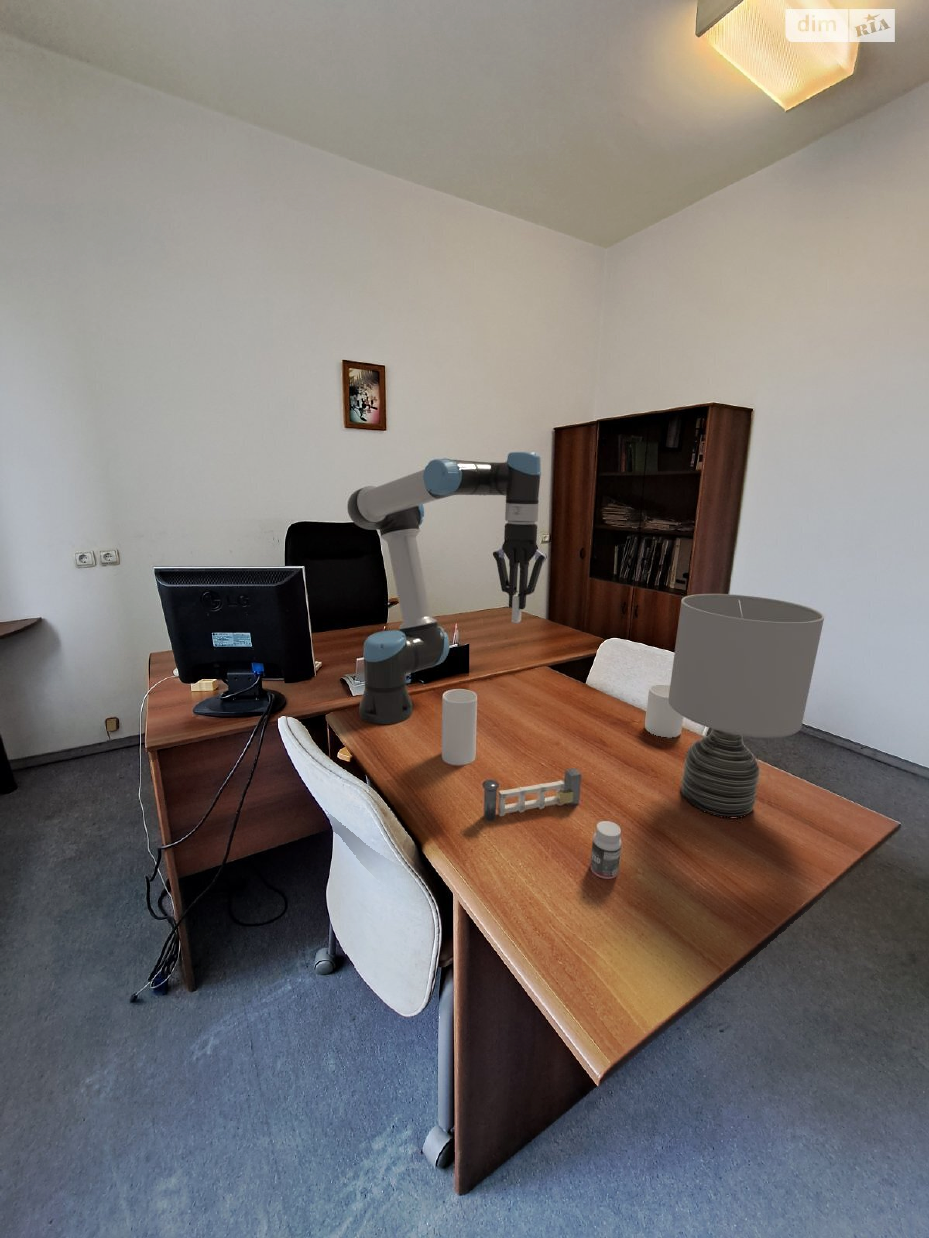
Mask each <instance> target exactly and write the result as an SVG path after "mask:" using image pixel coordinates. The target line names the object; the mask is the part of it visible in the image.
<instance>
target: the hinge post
mask: <svg viewBox="0 0 929 1238" xmlns="http://www.w3.org/2000/svg"><path fill="white" fill-rule="evenodd" d="M499 788H500V784H499V782H498V781H497V780H494V779H486V780H484V781H483V782H482V789H484V790H483V791H484V792H483V793H484V795H483V798H484V799H483V819H484V821H487V822H488V821H489V822H491V821H495V820H496V818H497V817H496V816H497V815H496V814H497V793H498V791H497V790H498V789H499Z"/></svg>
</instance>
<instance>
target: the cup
mask: <svg viewBox="0 0 929 1238" xmlns="http://www.w3.org/2000/svg"><path fill="white" fill-rule="evenodd" d="M441 700H442V707H441V708H442V709H441V715H442V721H441V724H442V725H441V758H442V760H443V762H445V763H446V764H449V765H452V766H466V765H469V764H471V763H473V762H474V761H475V760H476V756H477V755H476V751H477V745H476V744H477V718H478V717H477V715H478V714H477V713H478V696H477V693H476V692H474V691H472V690H469V689H463V688H455V689H454V688H453V689H449V690H446V691H445V692H444V693H442V698H441Z"/></svg>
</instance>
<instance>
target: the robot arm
mask: <svg viewBox="0 0 929 1238" xmlns="http://www.w3.org/2000/svg"><path fill="white" fill-rule="evenodd" d="M541 469H542V468H541V455H540V454H539V453H537V452H533V451H531V452H530V451H513V452H509V453H508V454H507V459H506V461H505V462H495V461H494V462H489V461H474V460H473V461H472V460H461V459H451V458H445V457H444V458H435V459H432V460H429V462H428V463H427V465H426V466H425V467H424V468H423V469H422V470H419V471H416V472H413V473H411V474H410V473H409V474H408V475H405V476H403V477H400V478H397V479H395V480H392V481H389V482H387V483H384V484H381V485H379V486H373V485H367V486H364V487H361V488H359V489H357V490H355V491H354V492H353V493H351V495H350V496H349V498H348V501H347V514H348V516H349V518H350V519H351V521H352V522H353V523H354V524H355V525H356V526H358V527H360V528H362V529H365V530H370V531H371V530H372V531H373V530H374V531H375V530H376V531H378V530H379V534H380V537H381V539H382V540H384V541H385V542H386V544H387V547H388V553H389V559H390V564H391V569H392V573H393V578H394V579H393V580H394V584H395V589H396V594H397V599H398V606H399V609H400V616H401V619H402V622H401V624H400V625H399V626H398V630H395V629H394V630H393V629H389V630H382V631H378V632H374V633H373V634H371V635H369V636H368V637H366V638H365V641H364V642H363V653H362V656H363V674H364V676H363V677H364V691H363V694H362V697H361V699H360V703H359V709H358V710H359V711H358V712H359V713H358V715H359V717H360V719H361V720H363V721H365V722H367V723H371V724H376V725H389V724H390V725H391V724H396V723H401V722H402V721H406V720H407V719H409V717H411V716H412V714H413V703H412V700H411V697H410V694H409V692H408V689H407V675H409V674H411V673H415V672H418V671H421V670H425V669H430V668H434V667H435V666H438V665H440V664H441V663H444V661H445V660H446V658H447V656H448V654H449V652H450V638H449V635H448V633H447V632H445V629H444V628H443V627H441V626H438V621H437V619H436V618H434V617H432V614H431V609H430V605H429V599H428V595H427V594H428V593H427V589H426V584H425V578H424V572H423V567H422V562H421V557H420V553H419V548H418V547H419V546H418V541H417V536H418V534H419V533H420V526H421V525H422V523H423V522H424V517H425V507H424V505H425V504H427V503H428V504H429V503H431V502H435V501H437V500H440V499H445V498H449V497H452V496H504V497H505V509H504V510H505V513H504V515H505V516H504V520H505V522H507V523H505V524H504V530H503V531H504V533H503V534H504V535H503V539H504V541H503V543H502V546H501V548H500V549H498V550H496V551H493V552H492V556H493V558H494V560H495V561H496V565H497V570H498V571H497V572H498V576H499V582H500V587H501V591H502V592H504V593H506V594H508V608H509V609H511V623H514V624H519V623H520V622H521V621H522V612H523V610H524V609H525V608H526V607H527V605H526V604H527V596H528V595H531V594H533V593H534V592H535V591H536V590H535V589H536V587H537V583H538V579H539V577H540V573H541V570H542V566H543V564H544V563H545V562H546V560H547V558H548V555H547V553H543V552H541V551H540V550H539V546H538V544H537V540H538V538H537V537H538V525H537V522H538V519H539V506H540V505H539V504H540V503H539V495H540V485H541V483H540V482H541V475H542V471H541ZM505 556H506V558H507V560H508V566H509V572H508V570H507V564H506V559H505ZM534 556H535V557H534ZM533 558H534V561H535V562H534V565H533V567H532V571H531V574H530V578H529V566H530V561H531V560H532V559H533ZM508 573H509V574H508ZM518 574H519V575H518ZM518 577H519V581H518ZM528 579H529V581H528ZM518 582H519V583H518Z"/></svg>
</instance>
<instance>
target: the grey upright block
mask: <svg viewBox="0 0 929 1238" xmlns="http://www.w3.org/2000/svg"><path fill="white" fill-rule="evenodd" d="M563 782H564V783H565V785H564V790H563V791H558V798H557V802H558V803H559V805H558V806H561V805H560V804H563V805H565V804H566V805H567V806H568V807H570V806H575V805H576V806H577V805H580V795H581V785H582V784H581V783H582V773H581V772H580V771H579V770H578V769H577V768H567V769H565V770H564V781H563Z"/></svg>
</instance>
